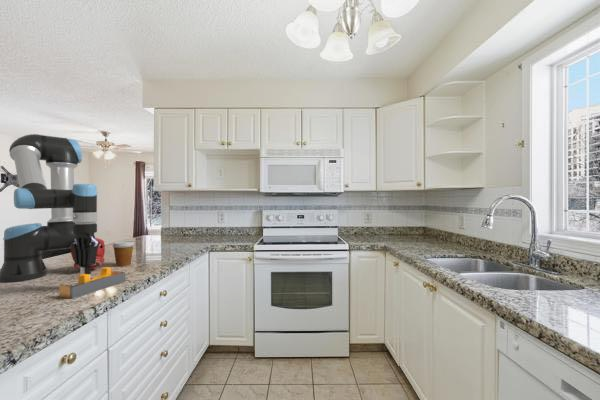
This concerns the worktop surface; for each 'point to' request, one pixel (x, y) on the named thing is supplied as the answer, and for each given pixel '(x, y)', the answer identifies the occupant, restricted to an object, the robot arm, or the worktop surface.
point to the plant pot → (98, 258)
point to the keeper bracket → (92, 285)
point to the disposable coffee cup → (123, 252)
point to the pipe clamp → (85, 277)
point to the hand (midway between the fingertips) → (85, 282)
